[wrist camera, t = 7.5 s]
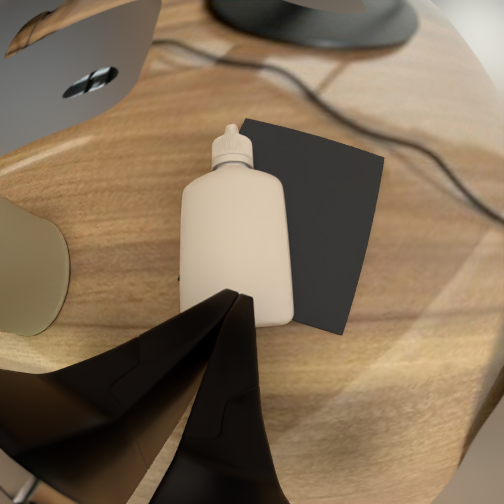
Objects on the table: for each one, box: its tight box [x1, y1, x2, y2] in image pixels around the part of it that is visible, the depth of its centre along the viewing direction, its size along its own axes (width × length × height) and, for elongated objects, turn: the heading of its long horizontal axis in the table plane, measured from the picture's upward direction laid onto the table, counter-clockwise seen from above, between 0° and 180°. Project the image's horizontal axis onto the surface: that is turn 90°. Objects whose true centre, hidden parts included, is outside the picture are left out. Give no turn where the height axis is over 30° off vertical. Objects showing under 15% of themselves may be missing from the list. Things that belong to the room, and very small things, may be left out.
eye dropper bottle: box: [180, 124, 294, 327], centre depth 17 cm, size 4×6×12 cm
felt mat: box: [178, 118, 384, 335], centre depth 19 cm, size 12×10×1 cm
